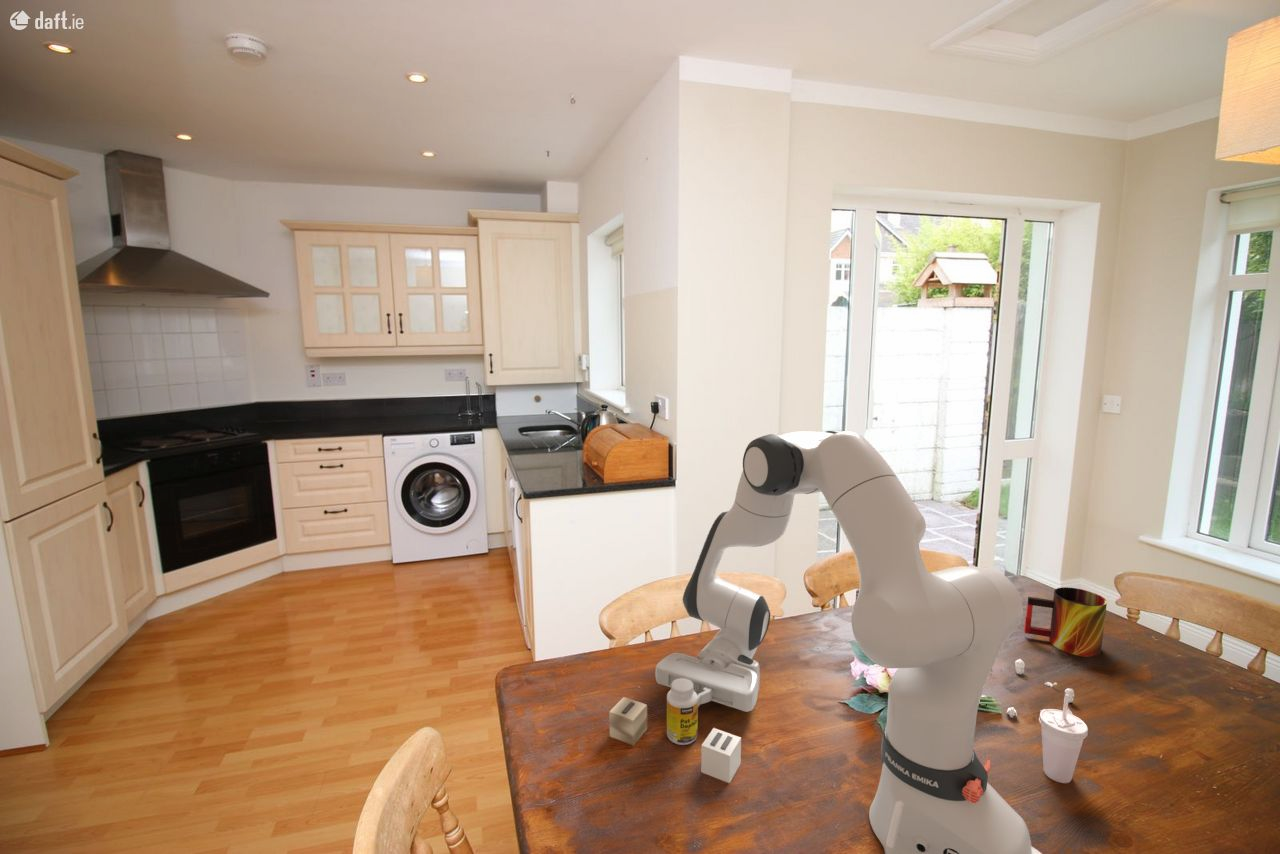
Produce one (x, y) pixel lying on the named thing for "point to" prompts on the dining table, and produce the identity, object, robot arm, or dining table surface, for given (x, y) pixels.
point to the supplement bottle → (682, 712)
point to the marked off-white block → (721, 755)
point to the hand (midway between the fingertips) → (689, 702)
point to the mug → (1072, 621)
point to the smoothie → (1061, 742)
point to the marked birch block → (628, 720)
